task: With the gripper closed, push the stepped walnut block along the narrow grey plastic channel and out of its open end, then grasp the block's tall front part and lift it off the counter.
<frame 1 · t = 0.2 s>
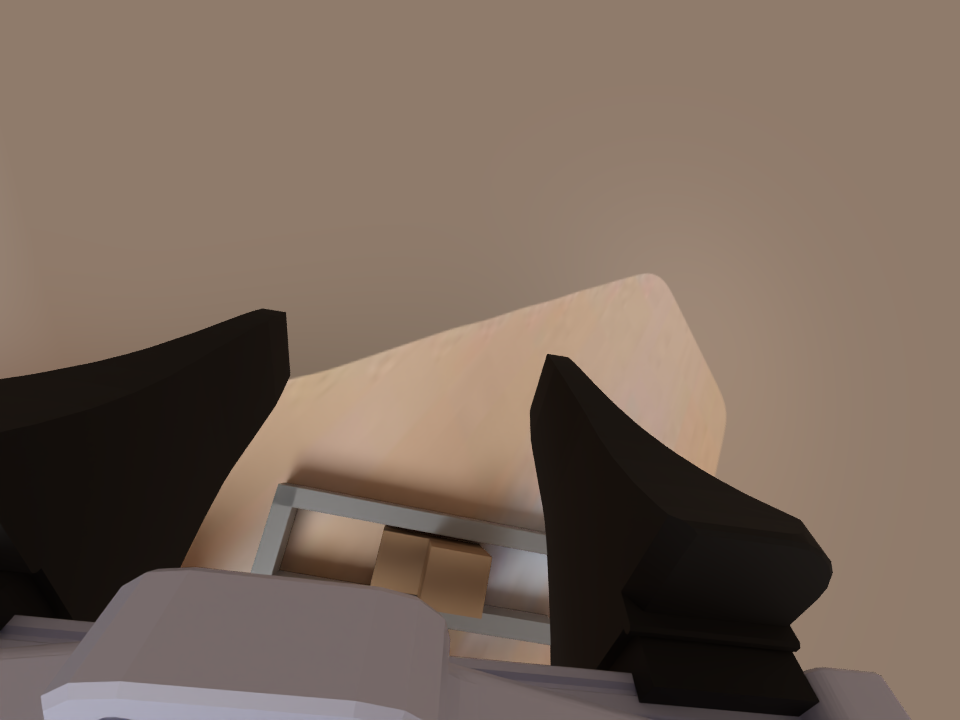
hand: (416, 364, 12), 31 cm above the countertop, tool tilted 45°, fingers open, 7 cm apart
channel: (427, 561, 39), on the countertop
block: (429, 568, 36), in the channel
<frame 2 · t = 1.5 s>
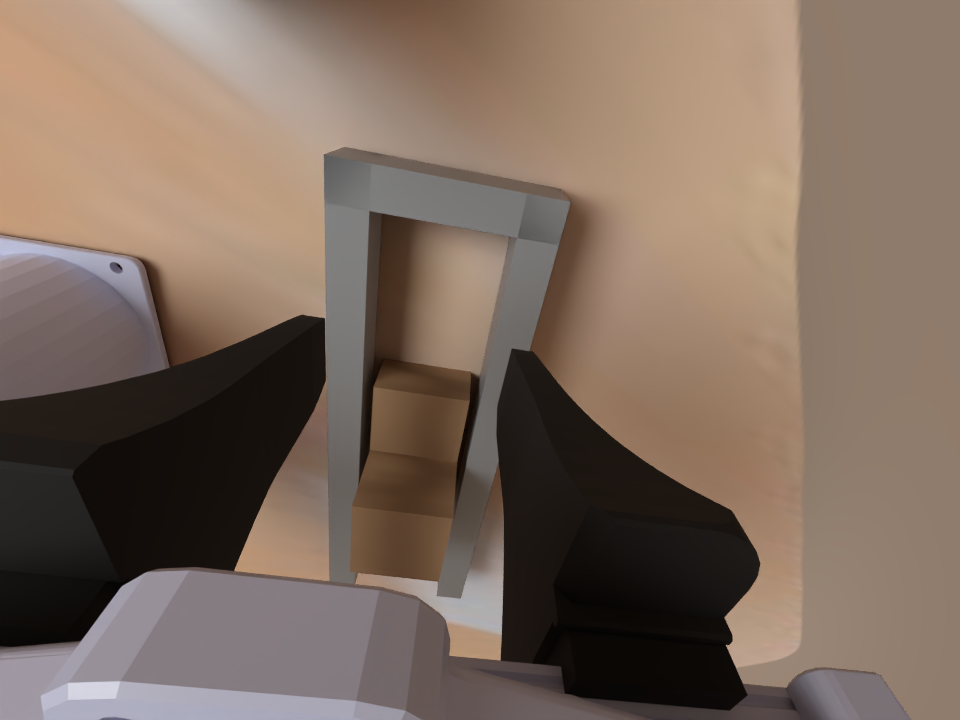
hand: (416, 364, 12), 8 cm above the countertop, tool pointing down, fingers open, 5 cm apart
channel: (419, 431, 24), on the countertop
block: (411, 470, 22), in the channel
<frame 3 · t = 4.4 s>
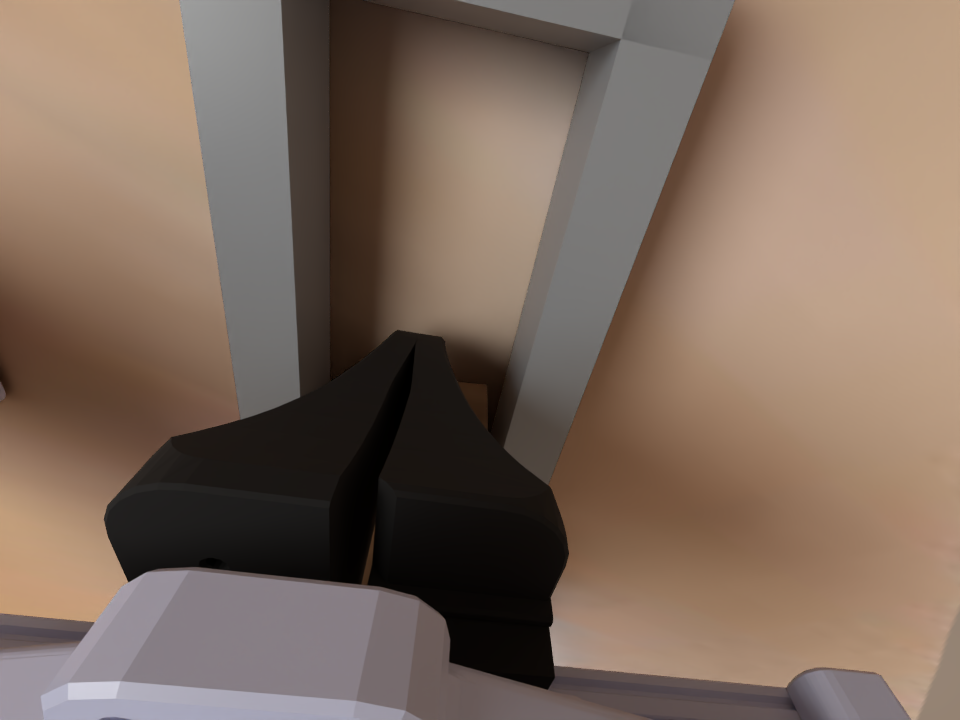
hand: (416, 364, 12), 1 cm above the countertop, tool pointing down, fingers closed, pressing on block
channel: (407, 452, 15), on the countertop
block: (397, 548, 13), in the channel, touching gripper
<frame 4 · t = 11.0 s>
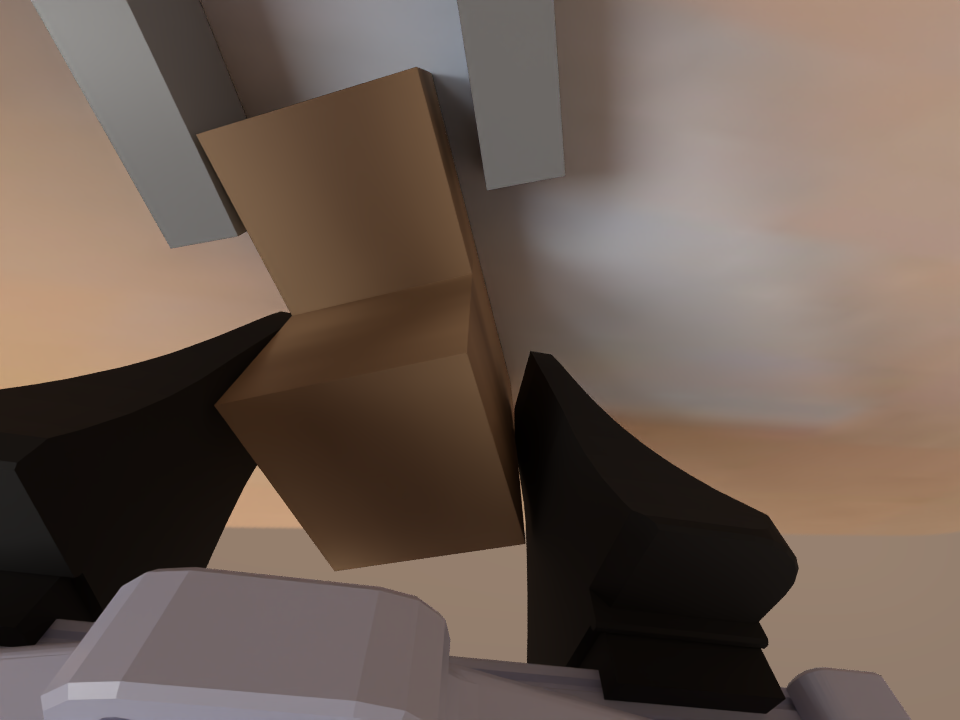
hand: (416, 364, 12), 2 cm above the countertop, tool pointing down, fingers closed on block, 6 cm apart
block: (382, 323, 10), on the countertop, touching gripper
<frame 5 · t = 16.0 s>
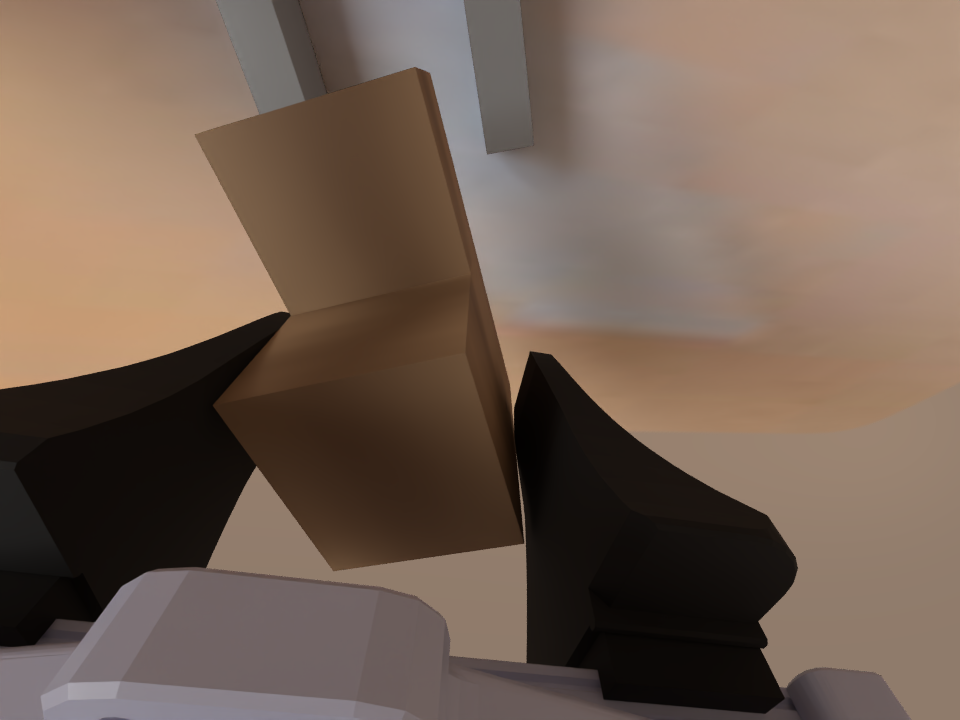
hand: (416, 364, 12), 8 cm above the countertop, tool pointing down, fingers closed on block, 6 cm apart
block: (381, 323, 10), point 10 cm above the countertop, touching gripper
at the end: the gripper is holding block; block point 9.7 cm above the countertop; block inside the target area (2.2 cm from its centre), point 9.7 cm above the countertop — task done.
